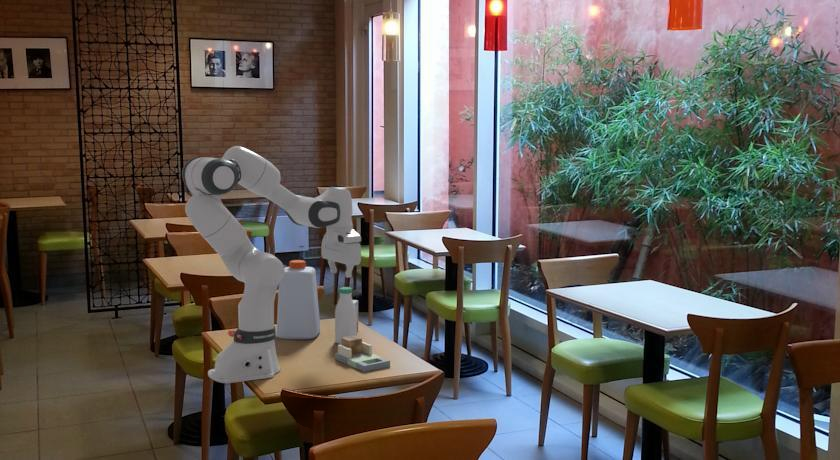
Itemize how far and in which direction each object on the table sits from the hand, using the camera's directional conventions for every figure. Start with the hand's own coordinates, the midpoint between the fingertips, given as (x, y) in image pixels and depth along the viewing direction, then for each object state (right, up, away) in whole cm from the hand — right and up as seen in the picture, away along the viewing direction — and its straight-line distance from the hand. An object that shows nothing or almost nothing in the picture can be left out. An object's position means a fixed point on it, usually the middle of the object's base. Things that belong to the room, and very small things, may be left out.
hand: (340, 275), depth 282 cm
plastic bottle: (-19, -24, +29) cm, 42 cm away
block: (+4, -26, -2) cm, 26 cm away
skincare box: (+1, -24, +33) cm, 40 cm away
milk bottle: (0, -26, +19) cm, 32 cm away
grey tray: (+8, -29, -7) cm, 30 cm away
